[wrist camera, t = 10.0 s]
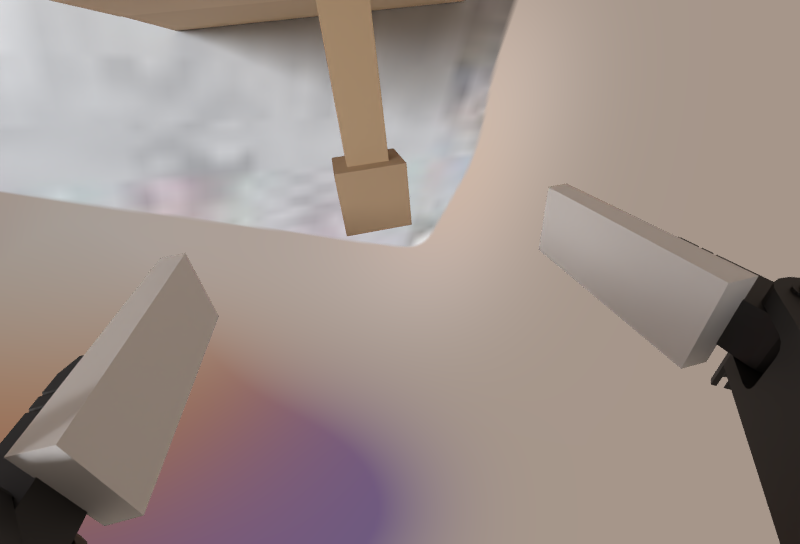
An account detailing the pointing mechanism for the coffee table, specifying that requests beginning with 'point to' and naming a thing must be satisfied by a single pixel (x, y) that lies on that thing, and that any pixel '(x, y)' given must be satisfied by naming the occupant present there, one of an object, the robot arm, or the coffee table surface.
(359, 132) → the flap outer
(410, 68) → the coffee table surface
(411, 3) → the carton
